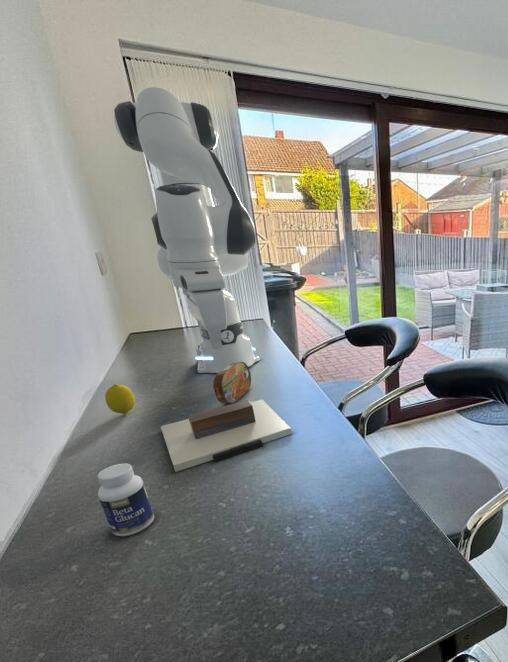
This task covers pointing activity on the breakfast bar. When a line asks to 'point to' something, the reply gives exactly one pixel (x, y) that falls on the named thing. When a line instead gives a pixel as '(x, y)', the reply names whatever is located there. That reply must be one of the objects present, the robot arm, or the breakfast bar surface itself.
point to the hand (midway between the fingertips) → (212, 342)
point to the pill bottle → (124, 500)
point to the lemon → (119, 399)
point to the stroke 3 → (254, 445)
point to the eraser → (221, 419)
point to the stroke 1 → (221, 455)
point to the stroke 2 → (238, 450)
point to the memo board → (221, 437)
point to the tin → (232, 382)
